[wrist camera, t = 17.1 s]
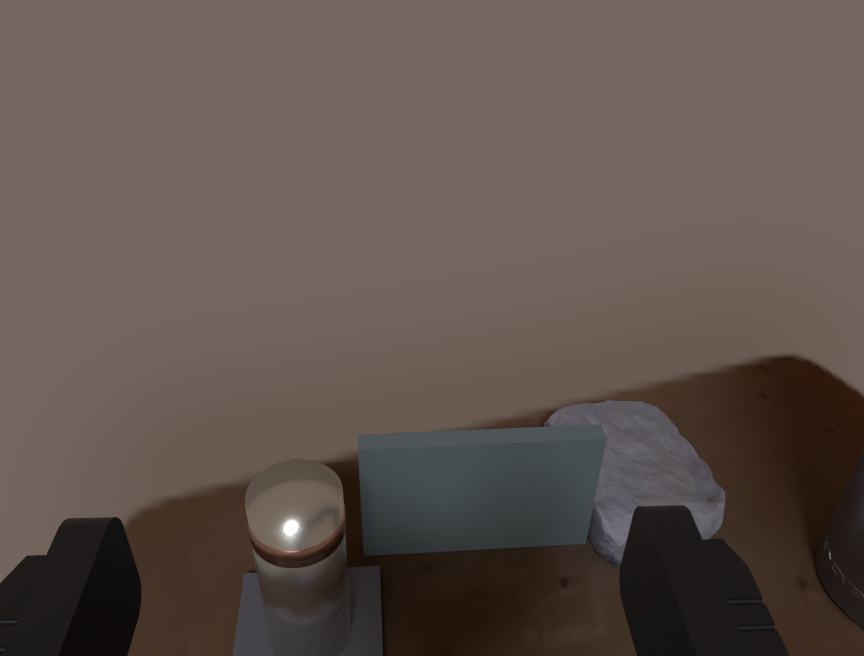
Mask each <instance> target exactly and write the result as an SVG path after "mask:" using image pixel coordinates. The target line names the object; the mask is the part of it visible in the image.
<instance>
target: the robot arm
mask: <svg viewBox="0 0 864 656" xmlns="http://www.w3.org/2000/svg"><path fill="white" fill-rule="evenodd" d="M816 566H817V571H818V575H819V577H820V580H821V582H822V584H823V586H824V588H825V590H826V591H827V592H828V594H829V595H830V597H831V598H832V599H833V601H834V602H835V603H836V604H837V605H838V606H839V607H840V608H841V609H842V610H843V611H844V612H845V613H846V614H847V615H848V616H849V617H850V618H851V619H853V620H854V621H855V622H856V623H858V624H859V625H860V626H862V627H863V628H864V448H863V450H862V452H861V455H860V457H859V459H858V461H857V463H856V465H855V467H854V470H853V472H852V474H851V476H850V478H849V480H848V483H847V485H846V487H845V489H844V491H843V493H842V496H841V498H840V500H839V502H838V504H837V506H836V508H835V511H834V513H833V515H832V517H831V520H830V522H829V524H828V526H827V528H826V531H825V533H824V535H823V537H822V539H821V542H820V544H819V546H818V548H817V551H816ZM620 593H621V599H622V604H623V608H624V611H625V615H626V618H627V622H628V625H629V629H630V632H631V636H632V639H633V643H634V646H635V650H636V653H637V656H789V654H788V652H787V650H786V648H785V646H784V643H783V641H782V639H781V637H780V635H779V633H778V630H777V631H776V630H775V628H774V622H773V620H772V617H771V615H770V613H769V611H768V609H767V607H766V604H763V602H762V596H761V594H760V591H759V589H758V587H757V585H756V583H755V581H754V578H753V576H752V574H751V572H750V570H749V568H748V566H747V565H746V564H745V563H744V562H743V561H742V559H741V558H740V557H739V556H738V555H737V554H736V553H735V552H734V551H733V550H732V549H731V548H730V547H729V546H728V545H727V544H726V543H725V542H724V540H723V539H704V540H702V537H701V535H700V532H699V530H698V528H697V525H696V523H695V521H694V518H693V516H692V514H691V512H690V510H689V509H688V508H687V507H686V506H684V505H668V506H638V507H636V509H635V510H634V513H633V517H632V521H631V525H630V529H629V533H628V537H627V541H626V545H625V549H624V553H623V557H622V561H621V566H620ZM140 606H141V582H140V577H139V573H138V570H137V567H136V564H135V561H134V558H133V555H132V551H131V548H130V545H129V542H128V539H127V536H126V533H125V530H124V526H123V524H122V522H121V520H120V519H119V518H117V517H112V518H70V519H66V520H64V521H63V522H62V524H61V525H60V527H59V529H58V531H57V533H56V535H55V537H54V540H53V542H52V544H51V546H50V549H49V551H48V553H47V555H38V556H26V557H25V558H24V559H23V560H22V561H21V562H20V563H19V564H18V565H17V566H16V568H15V569H14V570H13V571H12V572H11V573H10V574H9V575H8V576H7V577H6V578H5V579H4V580H3V581H2V582H1V583H0V656H127V654H128V651H129V648H130V644H131V641H132V638H133V634H134V631H135V628H136V624H137V621H138V617H139V612H140Z"/></svg>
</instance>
